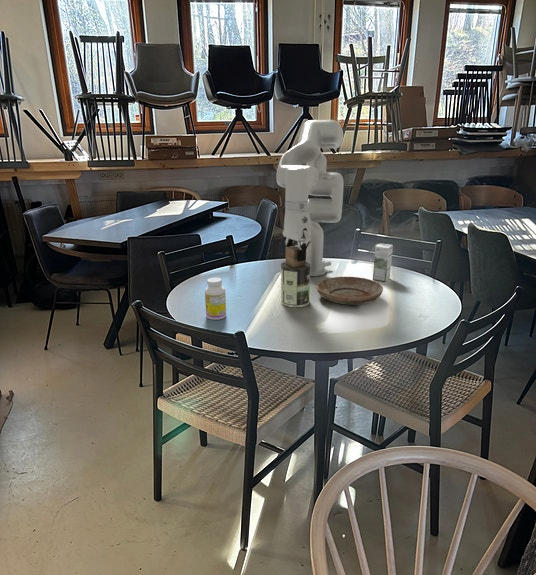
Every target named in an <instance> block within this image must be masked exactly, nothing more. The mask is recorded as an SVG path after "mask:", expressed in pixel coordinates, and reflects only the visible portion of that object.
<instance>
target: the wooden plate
mask: <svg viewBox="0 0 536 575" xmlns="http://www.w3.org/2000/svg"><path fill="white" fill-rule="evenodd" d="M316 291H317V293H318V294H319V295H320V297H323V298H324V299H326V300H328V301H330V302H333V303H337V304H339V305H340V304H341V305H348V306H349V305H351V306H352V305H353V306H356V305H365V304H368V303H372V302H374V301H375V300H377V299H379V297H380V296H381V295H382V294H383V291H384V287H383V285H382V284H381V283H379V282H377V281H376V280H373V279H369V278H366V277H358V276H335V277H330V278H325V279H322V280H321V281H319V282H318V283H317V285H316Z"/></svg>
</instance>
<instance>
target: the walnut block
mask: <svg viewBox="0 0 536 575" xmlns="http://www.w3.org/2000/svg"><path fill="white" fill-rule="evenodd" d="M294 245H295V244H294ZM298 250H299V248H298V244H296V245H295V246H289V247H286V246H285V262H286V264H287V265H290V266H292V267H298V266H303V265H306V260H305V261H297V251H298Z"/></svg>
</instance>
